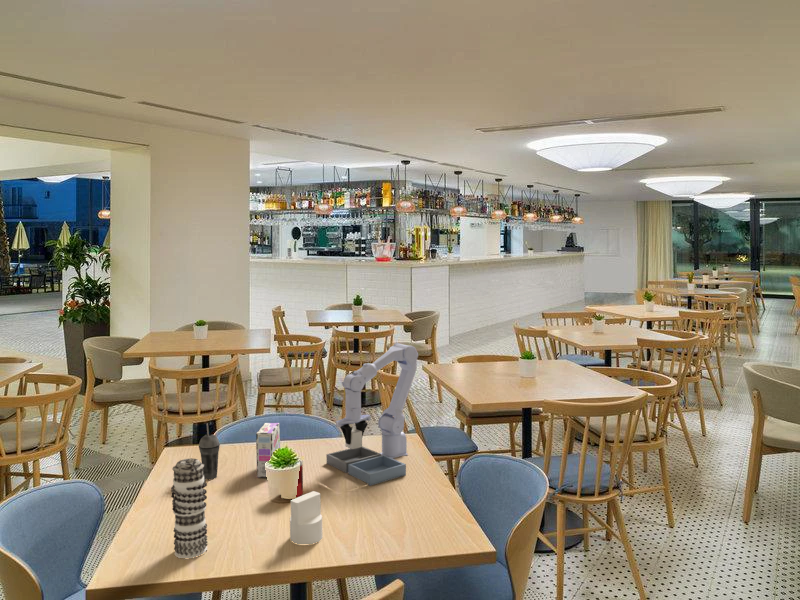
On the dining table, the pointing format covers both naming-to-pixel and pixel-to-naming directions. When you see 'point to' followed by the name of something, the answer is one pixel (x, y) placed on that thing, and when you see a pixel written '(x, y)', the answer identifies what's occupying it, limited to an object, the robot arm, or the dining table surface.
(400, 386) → the robot arm
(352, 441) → the cream block
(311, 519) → the cylinder with rectangular tab
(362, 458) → the grey bin
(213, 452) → the beverage cup
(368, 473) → the slate blue bin
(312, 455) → the dining table surface
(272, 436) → the candy box
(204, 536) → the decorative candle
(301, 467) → the canned food
